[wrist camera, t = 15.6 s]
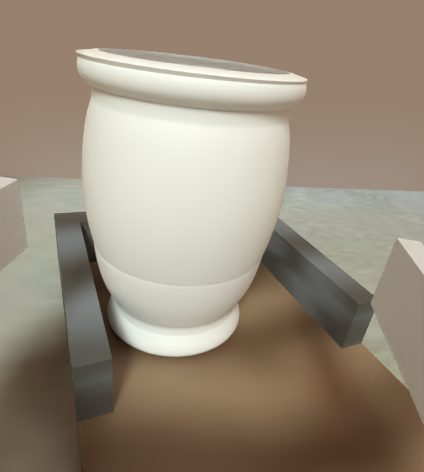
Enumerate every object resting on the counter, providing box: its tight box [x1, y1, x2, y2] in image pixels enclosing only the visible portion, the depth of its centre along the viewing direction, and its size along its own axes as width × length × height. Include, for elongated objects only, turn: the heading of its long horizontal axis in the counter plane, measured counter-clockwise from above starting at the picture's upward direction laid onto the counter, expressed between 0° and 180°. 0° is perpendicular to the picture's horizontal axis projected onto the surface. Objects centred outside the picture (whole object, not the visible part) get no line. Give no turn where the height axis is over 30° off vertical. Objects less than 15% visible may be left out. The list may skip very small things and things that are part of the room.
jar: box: [76, 48, 307, 357], centre depth 20 cm, size 11×10×15 cm
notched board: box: [54, 212, 424, 472], centre depth 22 cm, size 24×17×4 cm
